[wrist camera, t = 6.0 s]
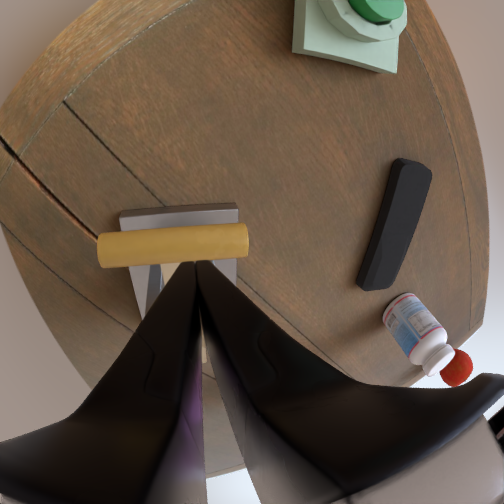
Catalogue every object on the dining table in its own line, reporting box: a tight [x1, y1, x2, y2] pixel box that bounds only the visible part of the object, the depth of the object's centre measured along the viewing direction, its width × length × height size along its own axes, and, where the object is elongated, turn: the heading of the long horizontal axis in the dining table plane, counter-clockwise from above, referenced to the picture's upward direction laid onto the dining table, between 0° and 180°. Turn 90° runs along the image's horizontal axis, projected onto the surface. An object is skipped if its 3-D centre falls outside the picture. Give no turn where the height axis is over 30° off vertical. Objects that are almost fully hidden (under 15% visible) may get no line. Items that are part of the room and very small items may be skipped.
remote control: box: [356, 158, 432, 291], centre depth 26 cm, size 5×2×15 cm
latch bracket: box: [119, 203, 239, 320], centre depth 20 cm, size 12×9×10 cm
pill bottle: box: [383, 293, 455, 377], centre depth 31 cm, size 6×6×11 cm
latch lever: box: [97, 223, 249, 363], centre depth 14 cm, size 11×6×2 cm, turn 177°
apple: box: [440, 348, 473, 387], centre depth 48 cm, size 9×8×11 cm
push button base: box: [292, 0, 407, 74], centre depth 13 cm, size 10×8×4 cm
